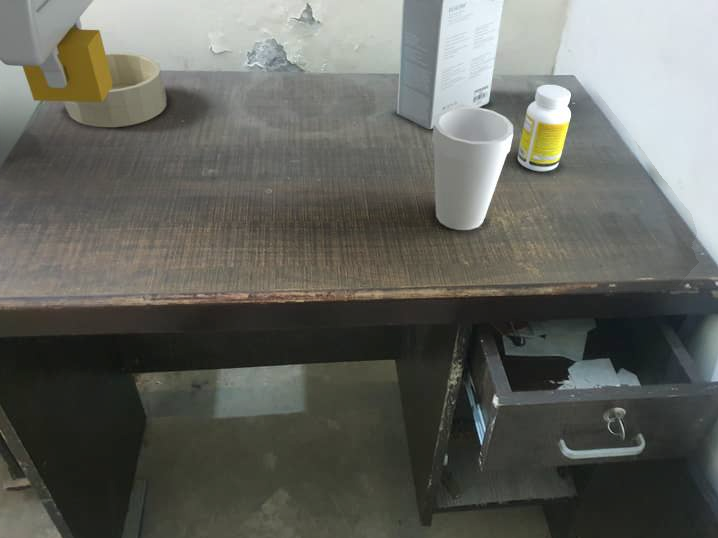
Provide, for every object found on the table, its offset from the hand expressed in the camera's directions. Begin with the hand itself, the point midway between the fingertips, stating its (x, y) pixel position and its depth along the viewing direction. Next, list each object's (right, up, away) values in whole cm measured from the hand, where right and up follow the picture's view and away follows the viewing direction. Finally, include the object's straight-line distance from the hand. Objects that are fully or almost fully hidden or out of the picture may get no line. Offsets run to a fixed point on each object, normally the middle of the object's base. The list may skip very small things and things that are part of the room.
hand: (68, 73), depth 68 cm
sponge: (0, -2, +1) cm, 2 cm away
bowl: (-9, +6, +32) cm, 34 cm away
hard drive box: (+43, +8, +38) cm, 58 cm away
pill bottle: (+56, -4, +27) cm, 62 cm away
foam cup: (+43, -13, +15) cm, 48 cm away
